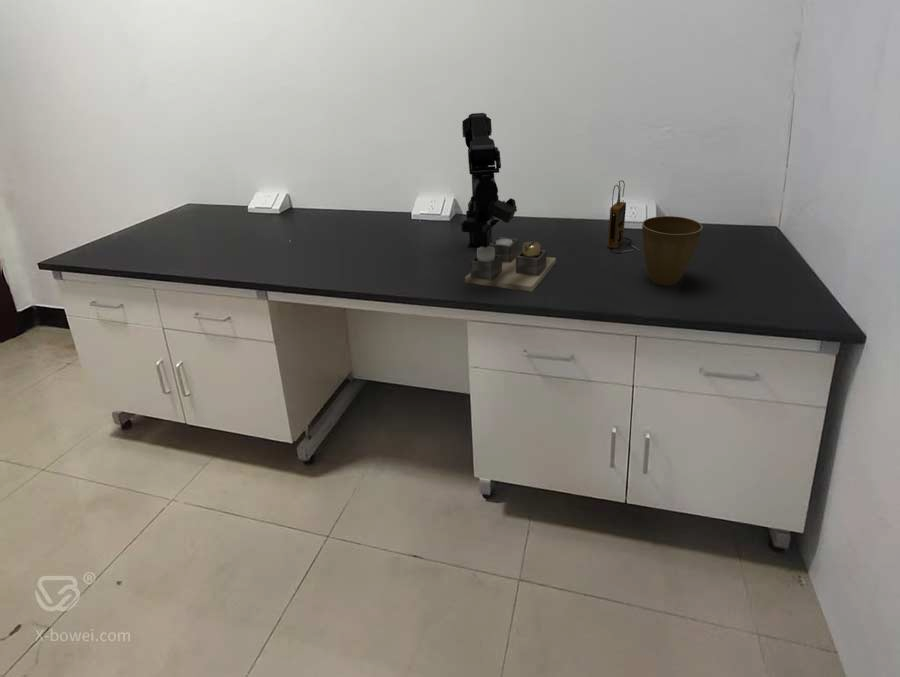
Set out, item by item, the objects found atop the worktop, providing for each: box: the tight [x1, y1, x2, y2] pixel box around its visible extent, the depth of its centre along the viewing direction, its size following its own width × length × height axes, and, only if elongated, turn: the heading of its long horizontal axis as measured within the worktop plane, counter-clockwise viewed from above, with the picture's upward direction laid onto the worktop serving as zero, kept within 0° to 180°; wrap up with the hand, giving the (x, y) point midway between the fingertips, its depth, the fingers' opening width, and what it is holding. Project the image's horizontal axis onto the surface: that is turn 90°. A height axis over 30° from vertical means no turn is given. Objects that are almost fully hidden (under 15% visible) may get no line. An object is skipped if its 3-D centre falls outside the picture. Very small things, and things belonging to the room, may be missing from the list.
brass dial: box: [521, 241, 541, 258], centre depth 169 cm, size 5×5×5 cm
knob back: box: [496, 239, 512, 246], centre depth 180 cm, size 5×5×5 cm
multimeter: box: [607, 180, 640, 255], centre depth 183 cm, size 15×10×20 cm
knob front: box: [476, 246, 495, 263], centre depth 168 cm, size 5×5×5 cm
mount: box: [464, 236, 557, 293], centre depth 173 cm, size 20×22×6 cm
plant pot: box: [641, 215, 703, 287], centre depth 160 cm, size 15×15×16 cm
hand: (485, 247), depth 167 cm, fingers closed
